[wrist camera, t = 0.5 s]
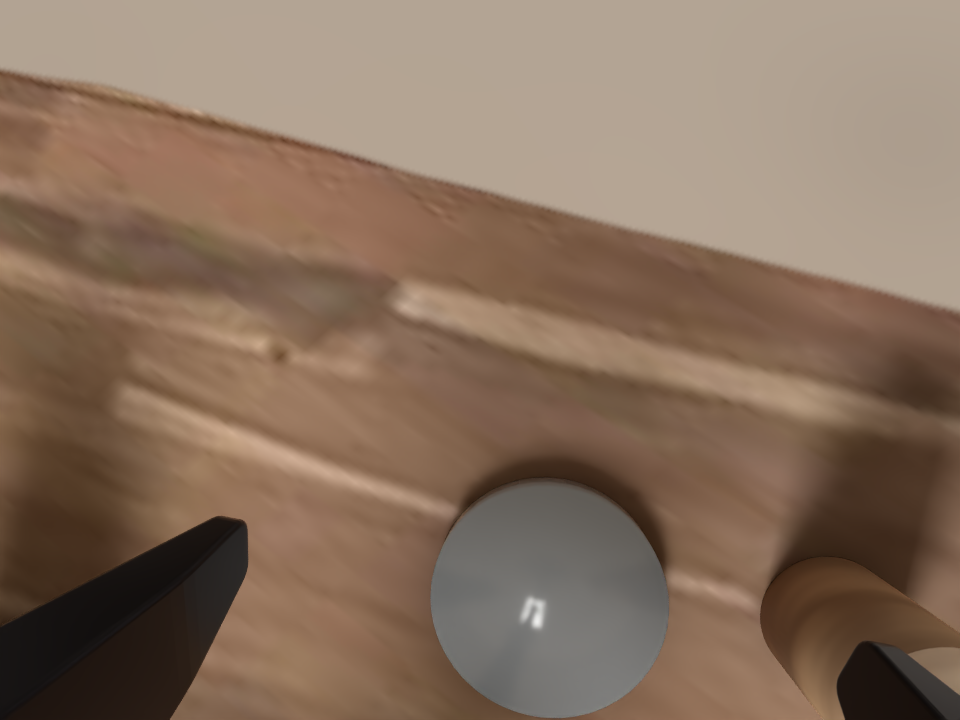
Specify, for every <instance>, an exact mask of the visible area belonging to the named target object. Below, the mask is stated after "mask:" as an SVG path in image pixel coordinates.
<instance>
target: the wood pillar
mask: <svg viewBox="0 0 960 720" xmlns="http://www.w3.org/2000/svg"><path fill="white" fill-rule="evenodd" d="M760 621H761V629H762V633H763V636H764V639H765V641H766V643H767V645H768V647H769V649H770V650H771V652H772V653H773V655H774V656H775V657H776V659H777V660H778V661H779V663H780V664H781V665H782V667H783V668H784V669H785V671H786V672H787V673H788V674H789V676H790V677H791V678H792V680H793V681H794V682H795V684H796V685H797V686H798V688H799V689H800V690H801V692H802V693H803V694H804V696H805V697H806V698H807V700H808V701H809V702H810V704H811V705H812V706H813V707H814V709H815V710H816V711H817V713H818V714H819V715H820V717H821V718H822V719H823V720H845V718H844V715H843V712H842V709H841V706H840V703H839V700H838V696H837V690H836V684H837V678H838V676H839V674H840V672H841V671H842V669H843V667H844V666H845V664H846V662H847V661H848V659H849V657H850V656H851V654H852V652H853V651H854V649H855V647H856V646H857V645H858V643H860V642H862V641H864V640H870V641H875V642H881V643H886V644H891V645H894V646H896V647H898V648H900V649H901V650H902V651H904V652H905V653H906V654H908V655H909V656H910V657H911V658H913V659H914V660H915V661H917V662H918V663H919V664H920V665H922V666H923V667H924V668H926V669H927V670H928V671H929V672H931V673H932V674H933V675H935V676H936V677H937V678H938V679H940V680H941V681H942V682H943V683H945V684H946V685H947V686H949V687H950V688H951V689H952V690H954V691H955V692H956V693H958V694H959V695H960V633H958V632H957V631H956V630H954V629H953V628H951V627H950V626H948V625H947V624H946V623H944V622H943V621H941V620H940V619H938V618H937V617H936V616H934V615H933V614H931V613H930V612H928V611H927V610H925V609H924V608H923V607H921V606H920V605H918V604H917V603H915V602H914V601H913V600H911V599H910V598H908V597H907V596H905V595H904V594H903V593H901V592H900V591H898V590H897V589H895V588H894V587H892V586H891V585H890V584H888V583H887V582H885V581H884V580H882V579H881V578H880V577H878V576H877V575H875V574H874V573H872V572H871V571H869V570H868V569H867V568H865V567H864V566H862V565H860V564H858V563H856V562H853V561H850V560H847V559H843V558H839V557H815V558H810V559H806V560H803V561H800V562H798V563H795V564H794V565H792V566H790V567H788V568H787V569H786V570H784V571H783V572H782V573H780V574H779V575H778V576H777V577H776V578H775V580H774V581H773V582H772V583H771V585H770V586H769V588H768V590H767V591H766V594H765V596H764V599H763V602H762V606H761V613H760Z"/></svg>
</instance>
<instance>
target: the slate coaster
mask: <svg viewBox="0 0 960 720" xmlns="http://www.w3.org/2000/svg"><path fill="white" fill-rule="evenodd" d="M430 597H431V612H432V618H433V623H434V627H435V630H436V633H437V636H438V639H439V642H440V644H441V646H442V648H443V650H444V652H445V654H446V656H447V657H448V659H449V660H450V662H451V664H452V665H453V667H454V668H455V669H456V670H457V672H458V673H459V674H460V675H461V676H462V678H463V679H464V680H465V681H467V682H468V683H469V684H470V685H471V686H472V687H473V688H474V689H475V690H477V691H478V692H479V693H481V694H482V695H483V696H485V697H486V698H488V699H489V700H491V701H493V702H495V703H497V704H498V705H500V706H502V707H505V708H507V709H510V710H512V711H515V712H518V713H522V714H525V715H529V716H536V717H542V718H567V717H576V716H580V715H584V714H588V713H592V712H594V711H597V710H600V709H602V708H605V707H607V706H609V705H610V704H612V703H614V702H616V701H618V700H619V699H621V698H622V697H623V696H625V695H626V694H627V693H629V692H630V691H631V690H632V689H633V688H634V687H635V686H636V685H637V684H638V683H639V682H640V681H641V680H642V679H643V678H644V677H645V675H646V674H647V673H648V671H649V670H650V669H651V667H652V665H653V664H654V662H655V660H656V658H657V657H658V655H659V652H660V650H661V647H662V645H663V642H664V639H665V635H666V631H667V626H668V616H669V598H668V591H667V585H666V580H665V577H664V574H663V570H662V567H661V565H660V562H659V560H658V558H657V556H656V554H655V552H654V550H653V548H652V547H651V545H650V543H649V541H648V540H647V538H646V536H645V535H644V533H643V532H642V530H641V528H640V527H639V525H638V524H637V523H636V522H635V520H634V519H633V518H632V517H631V516H630V515H629V513H628V512H626V511H625V510H624V509H623V508H622V507H621V506H620V505H619V504H618V503H616V502H615V501H614V500H612V499H611V498H609V497H608V496H606V495H605V494H603V493H601V492H599V491H597V490H596V489H594V488H592V487H589V486H586V485H584V484H581V483H578V482H575V481H570V480H566V479H560V478H551V477H539V478H528V479H522V480H517V481H514V482H510V483H507V484H504V485H502V486H499V487H497V488H495V489H493V490H491V491H489V492H488V493H486V494H484V495H483V496H481V497H480V498H478V499H477V500H476V501H475V502H474V503H472V504H471V505H470V506H469V507H468V508H467V509H466V510H465V511H464V512H463V513H462V514H461V515H460V516H459V518H458V519H457V521H456V522H455V524H454V525H453V526H452V528H451V530H450V532H449V534H448V536H447V537H446V539H445V542H444V544H443V547H442V549H441V551H440V554H439V557H438V559H437V562H436V565H435V568H434V573H433V577H432V583H431V596H430Z"/></svg>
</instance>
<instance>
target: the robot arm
mask: <svg viewBox="0 0 960 720" xmlns="http://www.w3.org/2000/svg"><path fill="white" fill-rule="evenodd" d="M247 568H248V529H247V525H246V523H245V521H243V520H241V519H236V518H231V517H225V516H216V517H214V518H211V519H209V520H207V521H205V522H203V523H201V524H200V525H198V526H196V527H194V528H192V529H190V530H188V531H186V532H184V533H182V534H180V535H178V536H176V537H174V538H172V539H170V540H168V541H166V542H164V543H162V544H160V545H158V546H156V547H154V548H152V549H150V550H148V551H146V552H145V553H143V554H141V555H139V556H137V557H135V558H133V559H131V560H129V561H127V562H125V563H123V564H121V565H119V566H117V567H115V568H113V569H111V570H109V571H107V572H105V573H103V574H101V575H99V576H97V577H95V578H93V579H91V580H90V581H88V582H86V583H84V584H82V585H80V586H78V587H76V588H74V589H72V590H70V591H68V592H66V593H64V594H62V595H60V596H58V597H56V598H54V599H52V600H50V601H48V602H46V603H44V604H42V605H40V606H38V607H36V608H34V609H33V610H31V611H29V612H27V613H25V614H23V615H21V616H19V617H17V618H15V619H13V620H11V621H9V622H7V623H5V624H3V625H1V626H0V720H170V718H171V717H172V715H173V713H174V712H175V710H176V709H177V707H178V705H179V704H180V702H181V701H182V699H183V697H184V695H185V694H186V692H187V690H188V689H189V687H190V685H191V684H192V682H193V680H194V678H195V676H196V674H197V672H198V670H199V668H200V667H201V665H202V663H203V661H204V659H205V657H206V655H207V653H208V651H209V649H210V647H211V645H212V643H213V641H214V639H215V637H216V634H217V632H218V630H219V628H220V626H221V624H222V622H223V620H224V618H225V616H226V614H227V612H228V610H229V608H230V606H231V604H232V602H233V600H234V598H235V596H236V594H237V592H238V590H239V588H240V586H241V584H242V582H243V580H244V578H245V575H246V572H247ZM836 690H837V696H838V700H839V703H840V706H841V709H842V712H843V715H844V718H845V720H960V695H959V694H958V693H956V692H955V691H954V690H952V689H951V688H950V687H949V686H947V685H946V684H945V683H943V682H942V681H941V680H940V679H938V678H937V677H936V676H935V675H933V674H932V673H931V672H929V671H928V670H927V669H926V668H924V667H923V666H922V665H920V664H919V663H918V662H917V661H915V660H914V659H913V658H911V657H910V656H909V655H908V654H906V653H905V652H904V651H902V650H901V649H900V648H898V647H896V646H894V645H891V644H886V643H881V642H875V641H870V640H864V641H862V642H860V643H858V645H857V646H856V647H855V649H854V651H853V652H852V654H851V656H850V657H849V659H848V661H847V662H846V664H845V666H844V667H843V669H842V671H841V672H840V674H839V676H838V678H837V684H836Z"/></svg>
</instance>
